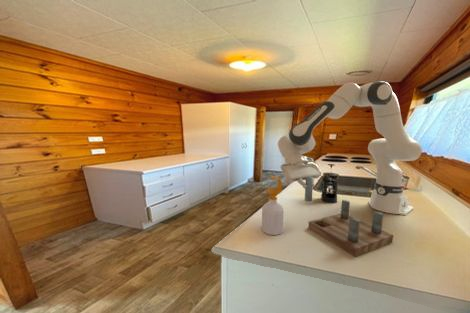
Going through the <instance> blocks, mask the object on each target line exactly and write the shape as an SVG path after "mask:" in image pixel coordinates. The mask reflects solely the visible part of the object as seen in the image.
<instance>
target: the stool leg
mask: <svg viewBox="0 0 470 313" xmlns="http://www.w3.org/2000/svg"><path fill="white" fill-rule="evenodd" d="M305 183H307V185H308V187H307V188H304V201H305V202H309V203H310V202H312V200H313V188H314V187H313V177H306V180H305Z"/></svg>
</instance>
